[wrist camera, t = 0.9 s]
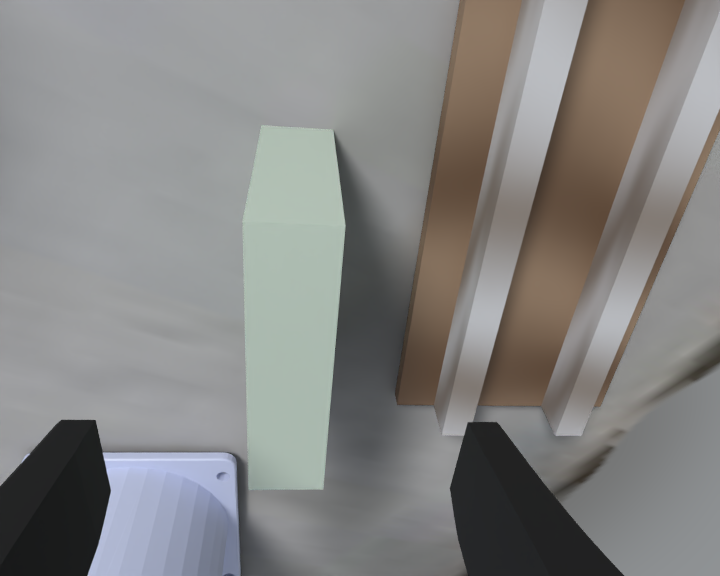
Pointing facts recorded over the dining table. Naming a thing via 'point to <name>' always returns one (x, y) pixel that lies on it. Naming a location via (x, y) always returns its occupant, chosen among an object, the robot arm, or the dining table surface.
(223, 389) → the dining table surface
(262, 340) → the door panel
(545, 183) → the door track
